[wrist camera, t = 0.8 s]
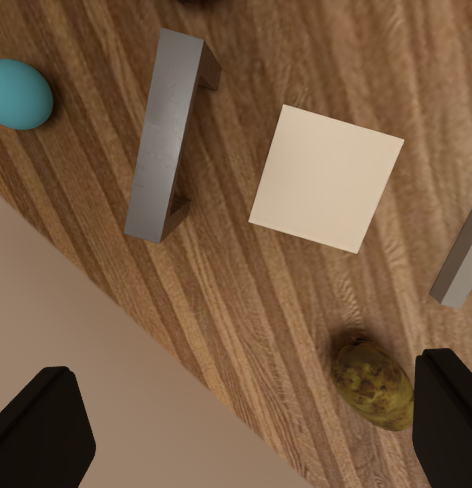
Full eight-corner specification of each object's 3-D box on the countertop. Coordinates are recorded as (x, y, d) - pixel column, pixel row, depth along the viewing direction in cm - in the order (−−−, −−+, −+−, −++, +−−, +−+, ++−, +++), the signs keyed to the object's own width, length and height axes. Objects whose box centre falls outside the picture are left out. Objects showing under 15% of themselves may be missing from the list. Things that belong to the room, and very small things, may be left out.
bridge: (159, 209, 37) (123, 233, 27) (191, 59, 32) (161, 27, 23) (186, 217, 37) (159, 243, 27) (222, 68, 32) (203, 39, 23)
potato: (336, 414, 43) (351, 475, 35) (319, 325, 39) (332, 370, 32) (405, 406, 41) (437, 467, 34) (394, 313, 38) (426, 357, 30)
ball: (10, 58, 34) (-42, 42, 28) (69, 76, 34) (28, 63, 28) (6, 121, 35) (-44, 117, 30) (62, 137, 35) (22, 137, 30)
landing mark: (283, 104, 33) (283, 104, 32) (403, 139, 33) (404, 139, 32) (248, 221, 36) (248, 221, 36) (356, 253, 36) (357, 253, 36)
